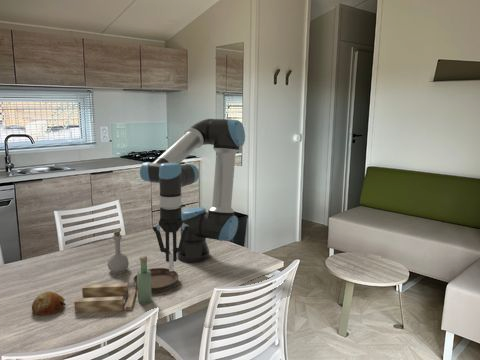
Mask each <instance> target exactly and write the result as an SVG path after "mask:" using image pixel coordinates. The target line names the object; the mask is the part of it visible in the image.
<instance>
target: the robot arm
mask: <svg viewBox="0 0 480 360" xmlns="http://www.w3.org/2000/svg"><path fill="white" fill-rule="evenodd" d="M245 141H246V132H245V127H244V125H243V124H242V122H241V121H240V120H238V119H237V120H236V119H231V118H228V119H227V118H223V119H222V118H207V119H204V120H202V119H201V121H200V120H199V121H198V122H196V123H194V124H192V125H191V126H190V127H188V128H187V129H185V131H184V134H183V136H181V137H180V138H179V139H178V140H177V141H176V142H175V143H173V144H172V145H171V146H170V147H169V148H168V149H167V150H165V151H164V152H163V153H162V154H161V155H160V156H158V157H157V158H156V159H154V161H153V162H151V161H146V162H143V163H142V164H141V166H140V169H139V175H140V179H141V180H142V181H144V182H150V183H156V184H157V183H158V184H159V207H160V208H159V220H158V222H157V224H154V225H153V227H152V231H154V233H155V236H156V239H157V243H158V247H159V250H160V252H161V253H164V254H165V261H166V262H167V263H168V269H169V271H173V270H174V267H175V265H174V262H175V263H176V262H177V260H179V261H181V262H184V263H189V264H190V263H193V264H194V263H195V264H196V263H200V262H205V261H206V260H208V259H210V254H211V253H210V248H209V246H208V244H207V239H210V240H217V241H220V242H230V241H231V240H233V238H234V237H235V235H236V233H237V231H238V228H239V219H238V217H237V215H235V210H234V209H233V208H232V203H233V201H232V200H233V191H234V189H233V188H234V177H235V176H234V175H235V166H236V165H235V164H236V154H237V153H238V152H239V151H240V148H241V147H243V146H244V144H245ZM204 145H205V146H206V145H210V146H213V147H212V148H213V150H214V152H215V163H214V164H215V167H214V176H213V177H214V179H213V180H214V181H213V191H212V205H211V206H210V207H209V208H208V211H207V209H206V208H205V207H203V206H202V207H201V206H198V207H197V206H195V207H190V208H186V209H183V210H182V207H181V206H182V188H184V187H187V186H190V185H193V184H194V183H196V182H197V181H198V180H199V177H200V170H199V169H198V167H197V166H196V165H194V164H192V163H187V164H186V163H185V164H181V163H182V162H183V161H184V160H185V159H186V158H187V157H188V156H190V154H192V153H193V151H195V150H196V149H199V148H201V147H202V146H204ZM160 229H161V230H162V231H163V232H164V234H165V235H164V236H165V245H164V242H163V239H162V235H161V231H160ZM179 230H180V239H179V243H178V244H177V242H178V241H177V232H178V231H179ZM170 233H172V251H170ZM177 245H178V247H177ZM174 271H175V270H174Z"/></svg>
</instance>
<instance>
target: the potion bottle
mask: <svg viewBox="0 0 480 360" xmlns="http://www.w3.org/2000/svg"><path fill="white" fill-rule="evenodd" d="M122 237H123V236H122V234H121V230H116V231H114V232H113V235H112V240H113V241H114V250H115V252H114V253H112V254H111V255H110V257H109V259H107V268H108V270H109V271H110V273H111V274H114V275H121V274H124V273H126V272H127V269H128V268H129V265H130V263H129V259H128V258H129V257H128V256H127V255H126V253H123V252H121V239H122Z"/></svg>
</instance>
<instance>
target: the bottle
mask: <svg viewBox="0 0 480 360" xmlns="http://www.w3.org/2000/svg"><path fill="white" fill-rule="evenodd" d="M139 261H140V270H138V271H137V272H136V275H137V285H136V287H137V302H138V303H139V304H142V305H147V304H150V303H151V302H152V301H153V292H152V285H151V271H150V270H148V262H147V261H148V256H146V255H141V256H140V257H139Z"/></svg>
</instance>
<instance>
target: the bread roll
mask: <svg viewBox="0 0 480 360" xmlns="http://www.w3.org/2000/svg"><path fill="white" fill-rule="evenodd" d="M65 301H66V299H65V298H64V296H62V295H60V294H58V293H56V292H54V291H50V290H49V291H47V290H46V291H44V292H42V293H40V294H38V296H36V297H35V299H34V300H33V302H32V304H31V311H32V313H33V314H34V315H35V316H38V317H39V316H40V317H43V316H45V317H46V316H50V315H53V314H57V313H59V312H60V311H62V310H63V308H64V307H65V306H66V303H65Z"/></svg>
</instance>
